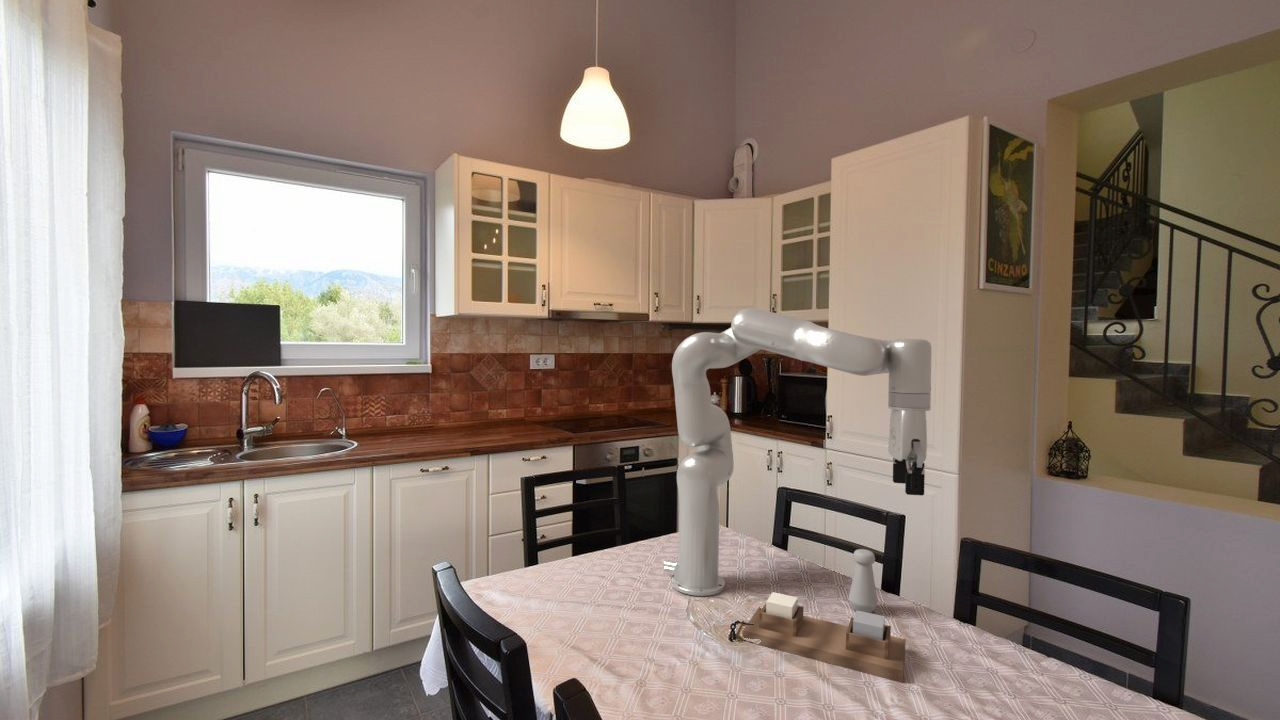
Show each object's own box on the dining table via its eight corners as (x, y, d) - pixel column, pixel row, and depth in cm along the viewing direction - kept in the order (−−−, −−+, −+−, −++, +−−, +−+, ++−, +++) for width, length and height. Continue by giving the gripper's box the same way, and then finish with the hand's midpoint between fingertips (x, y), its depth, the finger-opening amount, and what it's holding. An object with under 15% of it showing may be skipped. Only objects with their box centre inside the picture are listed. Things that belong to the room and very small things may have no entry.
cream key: (765, 613, 111) (766, 601, 111) (772, 603, 115) (772, 592, 115) (791, 619, 108) (792, 607, 108) (797, 609, 113) (797, 597, 113)
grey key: (852, 634, 103) (852, 621, 103) (856, 622, 108) (856, 610, 108) (882, 641, 101) (882, 627, 101) (884, 629, 105) (884, 616, 105)
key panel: (742, 640, 109) (743, 614, 109) (759, 615, 120) (760, 591, 120) (902, 682, 96) (902, 653, 96) (905, 649, 107) (906, 623, 107)
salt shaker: (879, 618, 120) (881, 557, 119) (850, 615, 121) (852, 554, 121) (873, 605, 125) (875, 547, 125) (846, 603, 127) (848, 545, 126)
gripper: (879, 397, 120) (877, 478, 121) (899, 405, 104) (898, 498, 104) (917, 398, 119) (915, 480, 119) (944, 406, 102) (942, 501, 102)
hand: (907, 488), depth 111 cm, fingers open, 9 cm apart
